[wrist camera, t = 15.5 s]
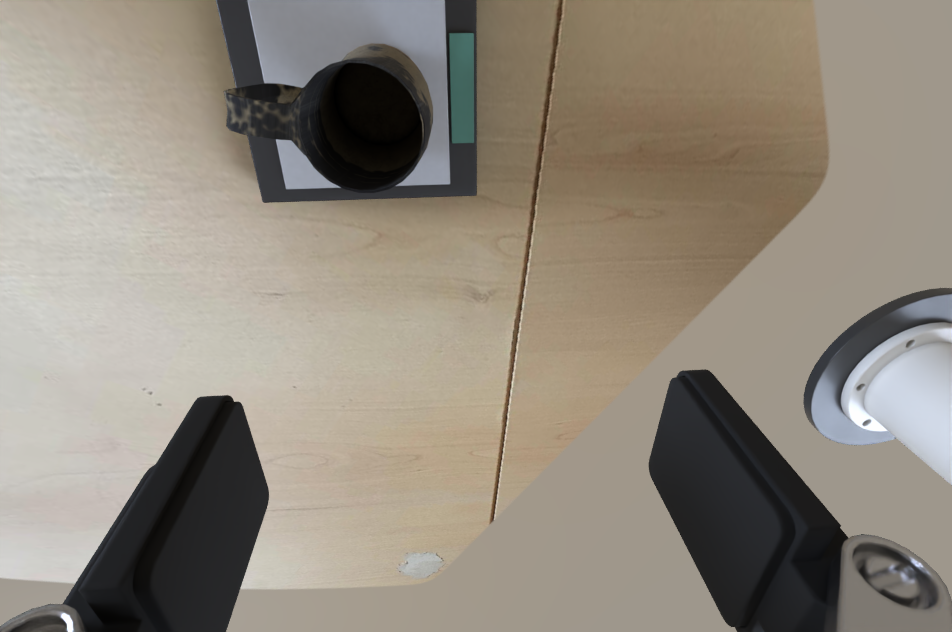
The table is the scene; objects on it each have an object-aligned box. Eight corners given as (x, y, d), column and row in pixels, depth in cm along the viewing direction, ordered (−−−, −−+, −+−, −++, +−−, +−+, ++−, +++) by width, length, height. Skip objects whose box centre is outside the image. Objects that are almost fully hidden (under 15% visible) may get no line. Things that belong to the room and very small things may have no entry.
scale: (472, -38, 28) (477, -44, 25) (473, 186, 35) (477, 198, 32) (220, -40, 27) (200, -48, 24) (272, 192, 33) (260, 206, 31)
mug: (436, 54, 27) (447, 68, 17) (424, 152, 30) (428, 216, 20) (290, 25, 26) (208, 23, 16) (292, 131, 29) (222, 188, 19)
